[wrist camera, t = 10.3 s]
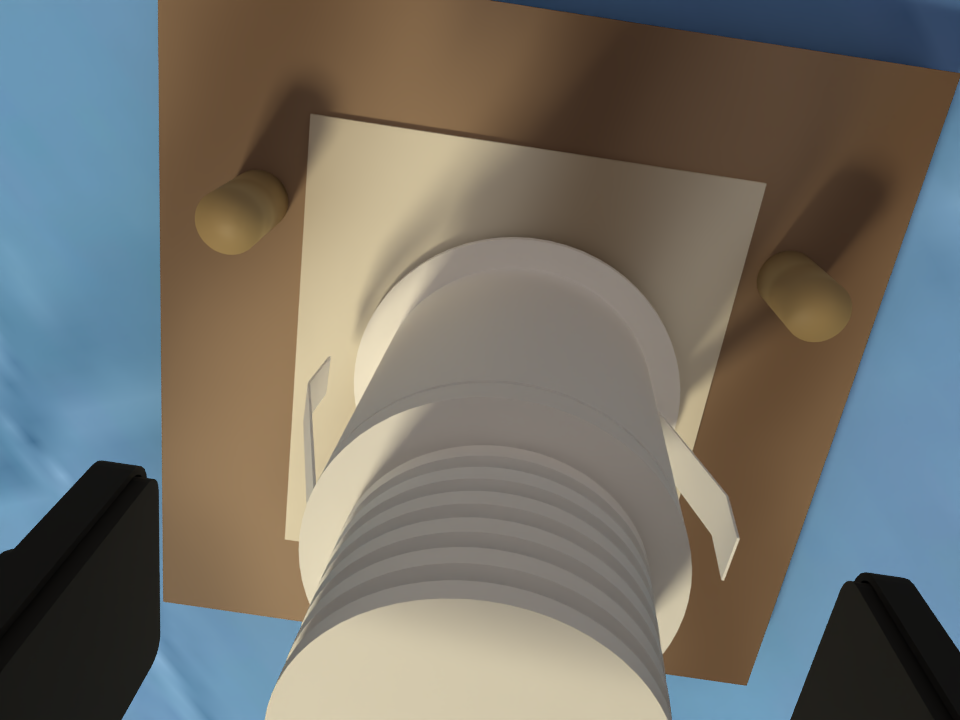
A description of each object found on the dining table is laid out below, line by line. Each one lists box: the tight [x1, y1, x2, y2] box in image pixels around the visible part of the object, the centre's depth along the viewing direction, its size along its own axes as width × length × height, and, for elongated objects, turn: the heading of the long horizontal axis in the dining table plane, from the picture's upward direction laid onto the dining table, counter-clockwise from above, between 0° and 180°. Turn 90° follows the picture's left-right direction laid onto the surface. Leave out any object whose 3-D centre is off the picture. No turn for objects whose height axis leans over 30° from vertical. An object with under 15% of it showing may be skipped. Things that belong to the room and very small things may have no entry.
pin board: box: [158, 0, 960, 686], centre depth 18 cm, size 15×15×3 cm
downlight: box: [265, 237, 740, 720], centre depth 14 cm, size 8×7×10 cm
